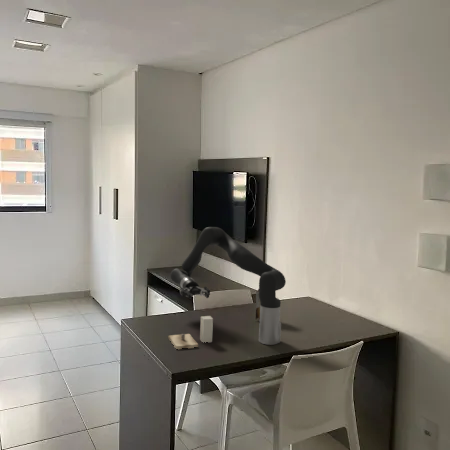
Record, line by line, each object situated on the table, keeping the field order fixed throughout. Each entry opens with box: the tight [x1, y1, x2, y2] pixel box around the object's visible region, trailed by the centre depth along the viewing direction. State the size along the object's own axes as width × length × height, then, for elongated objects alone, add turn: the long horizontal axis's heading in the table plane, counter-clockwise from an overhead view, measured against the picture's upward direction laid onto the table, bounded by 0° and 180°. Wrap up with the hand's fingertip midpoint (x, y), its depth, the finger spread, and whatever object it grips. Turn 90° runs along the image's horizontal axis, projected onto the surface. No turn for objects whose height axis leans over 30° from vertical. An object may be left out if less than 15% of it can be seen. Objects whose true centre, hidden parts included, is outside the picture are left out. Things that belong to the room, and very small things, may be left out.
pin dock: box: [167, 333, 199, 350], centre depth 214 cm, size 10×14×4 cm
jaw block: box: [199, 315, 214, 344], centre depth 217 cm, size 4×4×11 cm
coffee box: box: [254, 288, 260, 322], centre depth 251 cm, size 9×6×16 cm
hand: (199, 296), depth 225 cm, fingers open, 8 cm apart
